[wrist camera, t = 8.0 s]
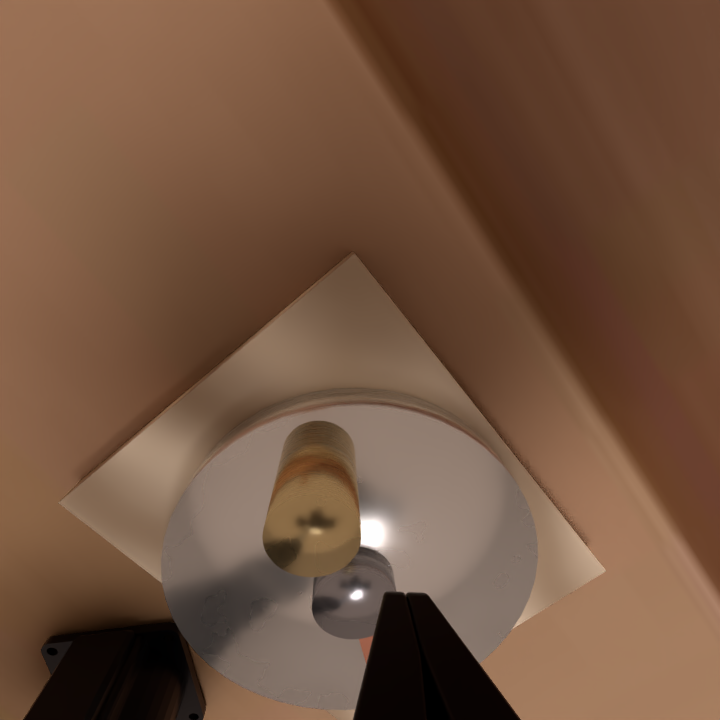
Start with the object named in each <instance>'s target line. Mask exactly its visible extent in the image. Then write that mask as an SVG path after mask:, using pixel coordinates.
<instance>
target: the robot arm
mask: <svg viewBox="0 0 720 720" xmlns="http://www.w3.org/2000/svg"><path fill="white" fill-rule="evenodd" d="M41 653H42V655H43V657H44V659H45V662H46V664H47V666H48V668H49V671H50V673H51V676H50V678H49V680H48V681H47V683H46V684H45V686H44V688H43V689H42V691H41V692H40V694H39V695H38V697H37V699H36V700H35V702H34V703H33V705H32V706H31V708H30V710H29V711H28V713H27V714H26V716H25V718H24V719H23V720H203V718H204V714H205V711H206V706H205V703H204V700H203V696H202V693H201V690H200V686H199V683H198V680H197V676H196V673H195V669H194V666H193V663H192V659H191V656H190V653H189V649H188V646H187V643H186V639H185V638H184V637H183V635H182V634H181V632H180V630H179V628H178V627H177V625H176V623H174V622H168V623H160V624H151V625H143V626H134V627H126V628H117V629H109V630H100V631H92V632H83V633H75V634H66V635H58V636H52V637H50V638H48V639H47V641H46V642H45V644H44V645H43V647H42V649H41ZM353 720H521V719H520V718H519V717H518V715H517V714H516V713H515V711H514V710H513V709H512V707H511V706H510V704H509V703H508V702H507V700H506V699H505V698H504V696H503V695H502V694H501V692H500V691H499V690H498V688H497V687H496V686H495V684H494V683H493V682H492V680H491V679H490V677H489V676H488V675H487V673H486V672H485V671H484V669H483V668H482V667H481V665H480V664H479V663H478V661H477V660H476V659H475V657H474V656H473V654H472V653H471V652H470V650H469V649H468V648H467V646H466V645H465V644H464V642H463V641H462V640H461V638H460V637H459V636H458V634H457V633H456V632H455V630H454V629H453V627H452V626H451V625H450V623H449V622H448V621H447V619H446V618H445V617H444V615H443V614H442V613H441V611H440V610H439V609H438V607H437V606H436V604H435V603H434V602H433V600H432V599H431V598H430V596H429V595H428V594H426V593H422V592H408V593H406V595H405V593H404V592H398V591H386V592H385V593H384V595H383V599H382V603H381V607H380V611H379V615H378V619H377V623H376V627H375V631H374V635H373V639H372V643H371V647H370V651H369V655H368V660H367V664H366V668H365V672H364V676H363V680H362V684H361V688H360V692H359V696H358V700H357V704H356V708H355V712H354V717H353Z"/></svg>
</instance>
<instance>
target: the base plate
mask: <svg viewBox="0 0 720 720" xmlns="http://www.w3.org/2000/svg"><path fill="white" fill-rule="evenodd" d="M360 387H361V388H372V389H384V390H389V391H394V392H399V393H403V394H408V395H411V396H414V397H417V398H420V399H423V400H425V401H428V402H431V403H433V404H435V405H437V406H439V407H441V408H443V409H445V410H447V411H449V412H451V413H453V414H454V415H455V416H457V417H458V418H460V419H461V420H463V421H464V422H465V423H467V424H468V425H470V426H471V427H472V428H473V429H474V430H475V431H476V432H477V433H478V434H479V435H480V436H481V437H483V438H484V439H485V440H486V442H487V443H488V444H489V445H490V447H491V448H492V449H493V450H494V452H495V453H496V454H497V456H498V457H499V458H500V460H501V461H502V463H503V464H504V465H505V467H506V468H507V470H508V471H509V473H510V474H511V475H512V477H513V478H514V480H515V481H516V483H517V484H518V486H519V488H520V490H521V491H522V493H523V495H524V497H525V499H526V500H527V503H528V505H529V508H530V511H531V514H532V517H533V519H534V523H535V529H536V534H537V540H538V563H537V570H536V577H535V581H534V584H533V588H532V591H531V594H530V598H529V600H528V602H527V604H526V606H525V608H524V610H523V612H522V615H521V616H520V618H519V619H518V621H517V622H516V624H515V626H514V627H513V628H515V627H516V626H518V625H520V624H521V623H523V622H524V621H526V620H528V619H529V618H531V617H533V616H534V615H536V614H537V613H539V612H541V611H542V610H544V609H546V608H547V607H549V606H550V605H552V604H554V603H555V602H557V601H558V600H560V599H562V598H563V597H565V596H567V595H568V594H570V593H571V592H573V591H575V590H576V589H578V588H580V587H581V586H583V585H584V584H586V583H588V582H589V581H591V580H592V579H594V578H596V577H597V576H599V575H601V574H602V573H604V572H605V571H606V570H605V569H604V568H603V566H602V565H601V564H600V562H599V561H598V560H597V559H596V557H595V556H594V555H593V554H592V552H591V551H590V550H589V548H588V547H587V546H586V545H585V543H584V542H583V541H582V540H581V538H580V537H579V536H578V534H577V533H576V532H575V531H574V529H573V528H572V527H571V526H570V524H569V523H568V522H567V521H566V519H565V518H564V517H563V516H562V514H561V513H560V512H559V510H558V509H557V508H556V507H555V505H554V504H553V503H552V502H551V500H550V499H549V498H548V497H547V495H546V494H545V493H544V492H543V490H542V489H541V488H540V486H539V485H538V484H537V483H536V481H535V480H534V479H533V478H532V476H531V475H530V474H529V473H528V471H527V470H526V469H525V468H524V466H523V465H522V464H521V462H520V461H519V460H518V459H517V457H516V456H515V455H514V454H513V452H512V451H511V450H510V449H509V447H508V446H507V445H506V444H505V442H504V441H503V440H502V438H501V437H500V436H499V435H498V433H497V432H496V431H495V430H494V428H493V427H492V426H491V425H490V423H489V422H488V421H487V420H486V418H485V417H484V416H483V414H482V413H481V412H480V411H479V409H478V408H477V407H476V406H475V404H474V403H473V402H472V401H471V399H470V398H469V397H468V396H467V394H466V393H465V392H464V390H463V389H462V388H461V387H460V385H459V384H458V383H457V382H456V380H455V379H454V378H453V377H452V375H451V374H450V373H449V372H448V370H447V369H446V368H445V366H444V365H443V364H442V363H441V361H440V360H439V359H438V358H437V356H436V355H435V354H434V353H433V351H432V350H431V349H430V348H429V346H428V345H427V344H426V342H425V341H424V340H423V339H422V337H421V336H420V335H419V334H418V332H417V331H416V330H415V329H414V327H413V326H412V325H411V324H410V322H409V321H408V320H407V319H406V317H405V316H404V315H403V313H402V312H401V311H400V310H399V308H398V307H397V306H396V305H395V303H394V302H393V301H392V300H391V298H390V297H389V296H388V295H387V293H386V292H385V291H384V289H383V288H382V287H381V286H380V284H379V283H378V282H377V281H376V279H375V278H374V277H373V276H372V274H371V273H370V272H369V271H368V269H367V268H366V267H365V265H364V264H363V263H362V262H361V260H360V259H359V258H358V257H357V255H356V254H355V253H354V252H353V251H352V252H351V253H350V254H349V255H348V256H346V257H345V258H344V259H343V260H342V261H341V262H339V263H338V264H337V265H336V266H335V267H333V268H332V269H331V270H330V271H329V272H328V273H326V274H325V275H324V276H323V277H322V278H320V279H319V280H318V281H317V282H316V283H314V284H313V285H312V286H311V287H310V288H309V289H307V290H306V291H305V292H304V293H303V294H301V295H300V296H299V297H298V298H297V299H295V300H294V301H293V302H292V303H291V304H290V305H288V306H287V307H286V308H285V309H284V310H282V311H281V312H280V313H279V314H278V315H276V316H275V317H274V318H273V319H272V320H271V321H269V322H268V323H267V324H266V325H265V326H263V327H262V328H261V329H260V330H259V331H257V332H256V333H255V334H254V335H253V336H252V337H250V338H249V339H248V340H247V341H246V342H244V343H243V344H242V345H241V346H240V347H239V348H237V349H236V350H235V351H234V352H233V353H231V354H230V355H229V356H228V357H227V358H225V359H224V360H223V361H222V362H221V363H220V364H218V365H217V366H216V367H215V368H214V369H212V370H211V371H210V372H209V373H208V374H206V375H205V376H204V377H203V378H202V379H201V380H199V381H198V382H197V383H196V384H195V385H193V386H192V387H191V388H190V389H189V390H187V391H186V392H185V393H184V394H183V395H182V396H180V397H179V398H178V399H177V400H176V401H174V402H173V403H172V404H171V405H170V406H168V407H167V408H166V409H165V410H164V411H163V412H161V413H160V414H159V415H158V416H157V417H155V418H154V419H153V420H152V421H151V422H150V423H148V424H147V425H146V426H145V427H144V428H142V429H141V430H140V431H139V432H138V433H136V434H135V435H134V436H133V437H132V438H131V439H129V440H128V441H127V442H126V443H125V444H123V445H122V446H121V447H120V448H119V449H117V450H116V451H115V452H114V453H113V454H112V455H110V456H109V457H108V458H107V459H106V460H104V461H103V462H102V463H101V464H100V465H98V466H97V467H96V468H95V469H94V470H93V471H91V472H90V473H89V474H88V475H87V476H85V477H84V478H83V479H82V480H81V481H80V482H79V483H78V484H77V485H76V486H75V487H74V488H73V489H72V490H71V491H70V492H69V493H68V494H67V495H66V496H65V497H64V498H63V499H62V500H61V501H60V502H59V504H60V505H62V506H63V507H64V508H66V509H67V510H68V511H69V512H71V513H72V514H73V515H75V516H76V517H77V518H78V519H80V520H81V521H82V522H84V523H85V524H86V525H87V526H89V527H90V528H91V529H93V530H94V531H95V532H96V533H98V534H99V535H100V536H102V537H103V538H104V539H105V540H107V541H108V542H109V543H111V544H112V545H113V546H115V547H116V548H117V549H118V550H120V551H121V552H122V553H124V554H125V555H126V556H127V557H129V558H130V559H131V560H133V561H134V562H135V563H136V564H138V565H139V566H140V567H142V568H143V569H144V570H145V571H147V572H148V573H149V574H151V575H152V576H153V577H154V578H156V579H157V580H158V581H160V582H161V583H162V576H161V556H162V548H163V541H164V537H165V533H166V530H167V527H168V524H169V521H170V518H171V516H172V514H173V512H174V510H175V508H176V506H177V504H178V502H179V500H180V498H181V496H182V494H183V493H184V491H185V489H186V487H187V486H188V484H189V482H190V480H191V479H192V477H193V475H194V473H195V472H196V470H197V468H198V467H199V466H200V464H201V463H202V461H203V460H204V459H205V457H206V456H207V454H208V453H209V452H210V450H211V449H212V448H213V447H214V446H215V445H216V444H217V443H218V442H219V441H220V440H221V439H222V438H223V437H224V436H225V435H226V434H227V433H229V432H230V431H231V430H232V429H234V428H235V427H236V426H238V425H239V424H240V423H241V422H243V421H244V420H246V419H247V418H249V417H251V416H253V415H254V414H256V413H258V412H259V411H261V410H263V409H265V408H267V407H269V406H272V405H274V404H276V403H279V402H281V401H283V400H286V399H289V398H292V397H296V396H299V395H303V394H306V393H310V392H315V391H322V390H328V389H334V388H360ZM326 711H327V712H329V713H330V714H331V715H332V716H334V717H335V718H336V719H338V720H353V717H354V712H355V709H353V710H326Z"/></svg>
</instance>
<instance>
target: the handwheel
mask: <svg viewBox="0 0 720 720" xmlns="http://www.w3.org/2000/svg"><path fill="white" fill-rule="evenodd" d="M537 563H538V540H537V534H536V529H535V523H534V519H533V517H532V514H531V511H530V508H529V505H528V503H527V500H526V499H525V497H524V495H523V493H522V491H521V490H520V488H519V486H518V484H517V483H516V481H515V480H514V478H513V477H512V475H511V474H510V473H509V471H508V470H507V468H506V467H505V465H504V464H503V463H502V461H501V460H500V458H499V457H498V456H497V454H496V453H495V452H494V450H493V449H492V448H491V447H490V445H489V444H488V443H487V442H486V440H485V439H484V438H483V437H481V436H480V435H479V434H478V433H477V432H476V431H475V430H474V429H473V428H472V427H471V426H470V425H468V424H467V423H465V422H464V421H463V420H461V419H460V418H458V417H457V416H455V415H454V414H453V413H451V412H449V411H447V410H445V409H443V408H441V407H439V406H437V405H435V404H433V403H431V402H428V401H425V400H423V399H420V398H417V397H414V396H411V395H408V394H403V393H399V392H394V391H389V390H384V389H372V388H361V387H360V388H334V389H328V390H322V391H315V392H310V393H306V394H303V395H299V396H296V397H292V398H289V399H286V400H283V401H281V402H279V403H276V404H274V405H272V406H269V407H267V408H265V409H263V410H261V411H259V412H258V413H256V414H254V415H253V416H251V417H249V418H247V419H246V420H244V421H243V422H241V423H240V424H239V425H238V426H236V427H235V428H234V429H232V430H231V431H230V432H229V433H227V434H226V435H225V436H224V437H223V438H222V439H221V440H220V441H219V442H218V443H217V444H216V445H215V446H214V447H213V448H212V449H211V450H210V452H209V453H208V454H207V456H206V457H205V459H204V460H203V461H202V463H201V464H200V466H199V467H198V468H197V470H196V472H195V473H194V475H193V477H192V479H191V480H190V482H189V484H188V486H187V487H186V489H185V491H184V493H183V494H182V496H181V498H180V500H179V502H178V504H177V506H176V508H175V510H174V512H173V514H172V516H171V518H170V521H169V524H168V527H167V530H166V533H165V537H164V541H163V548H162V556H161V576H162V584H163V589H164V594H165V599H166V602H167V604H168V607H169V610H170V612H171V615H172V618H173V619H174V621H175V623H176V625H177V627H178V628H179V630H180V632H181V634H182V635H183V637H184V638H185V639H186V640H187V642H188V643H189V644H190V646H191V647H192V648H193V649H194V651H195V652H196V653H197V654H198V655H199V656H200V657H201V658H202V659H204V660H205V661H206V662H207V663H208V664H209V665H210V666H211V667H213V668H214V669H215V670H216V671H218V672H219V673H220V674H222V675H223V676H224V677H226V678H228V679H229V680H231V681H233V682H235V683H236V684H238V685H240V686H241V687H243V688H245V689H248V690H250V691H252V692H254V693H257V694H259V695H261V696H264V697H267V698H270V699H273V700H276V701H279V702H282V703H287V704H292V705H296V706H301V707H308V708H316V709H325V710H353V709H355V708H356V704H357V700H358V696H359V692H360V688H361V684H362V680H363V676H364V672H365V668H366V664H367V660H368V655H369V651H370V647H371V643H372V639H373V635H374V631H375V627H376V623H377V619H378V615H379V611H380V607H381V603H382V599H383V595H384V593H385V592H386V591H398V592H404V593H405V595H406V593H408V592H422V593H426V594H428V595H429V596H430V598H431V599H432V600H433V602H434V603H435V604H436V606H437V607H438V609H439V610H440V611H441V613H442V614H443V615H444V617H445V618H446V619H447V621H448V622H449V623H450V625H451V626H452V627H453V629H454V630H455V632H456V633H457V634H458V636H459V637H460V638H461V640H462V641H463V642H464V644H465V645H466V646H467V648H468V649H469V650H470V652H471V653H472V654H473V656H474V657H475V659H476V660H477V661H478V663H481V662H482V661H483V660H484V659H485V658H486V657H487V656H489V655H490V654H491V653H492V652H493V651H494V650H495V649H496V648H497V647H498V646H499V645H500V644H501V642H502V641H503V640H504V639H505V638H506V636H507V635H508V634H509V633H510V632H511V630H512V629H513V627H514V626H515V624H516V622H517V621H518V619H519V618H520V616H521V615H522V612H523V610H524V608H525V606H526V604H527V602H528V600H529V598H530V594H531V591H532V588H533V584H534V581H535V577H536V570H537Z"/></svg>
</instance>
